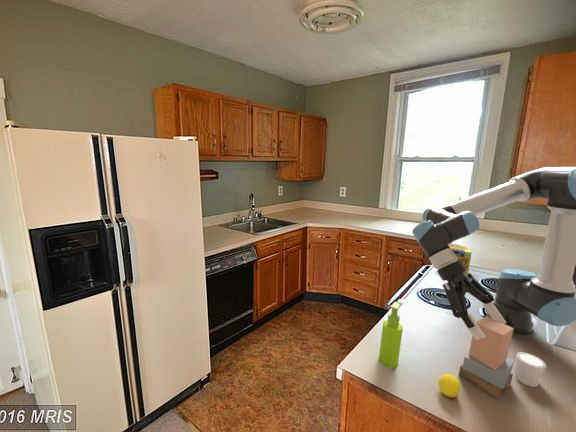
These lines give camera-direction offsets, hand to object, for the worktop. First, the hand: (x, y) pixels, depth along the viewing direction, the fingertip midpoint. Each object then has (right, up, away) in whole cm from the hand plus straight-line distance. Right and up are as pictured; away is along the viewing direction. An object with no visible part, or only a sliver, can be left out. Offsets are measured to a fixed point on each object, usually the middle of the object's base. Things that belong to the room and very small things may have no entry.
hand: (491, 331), depth 80 cm
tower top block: (+1, -13, +3) cm, 13 cm away
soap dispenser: (-26, -14, +11) cm, 32 cm away
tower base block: (0, -17, +4) cm, 17 cm away
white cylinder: (+14, -17, +5) cm, 23 cm away
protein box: (+43, -1, +90) cm, 99 cm away
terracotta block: (0, -9, +2) cm, 9 cm away
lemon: (-14, -17, -1) cm, 22 cm away
